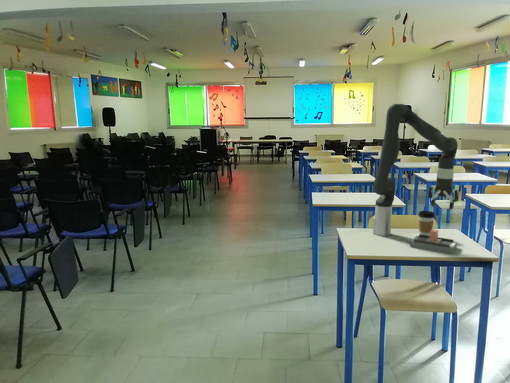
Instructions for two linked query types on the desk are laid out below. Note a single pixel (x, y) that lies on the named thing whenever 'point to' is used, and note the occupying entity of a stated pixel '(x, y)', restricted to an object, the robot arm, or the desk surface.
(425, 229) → the coffee cup
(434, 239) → the handle
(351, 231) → the desk surface
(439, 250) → the switch box
